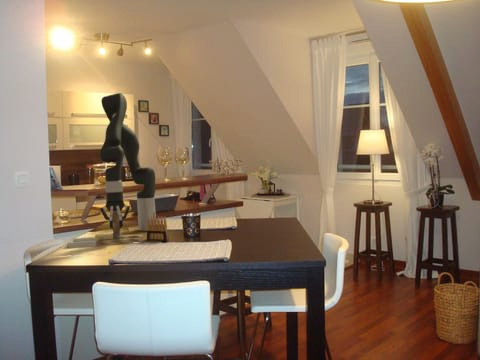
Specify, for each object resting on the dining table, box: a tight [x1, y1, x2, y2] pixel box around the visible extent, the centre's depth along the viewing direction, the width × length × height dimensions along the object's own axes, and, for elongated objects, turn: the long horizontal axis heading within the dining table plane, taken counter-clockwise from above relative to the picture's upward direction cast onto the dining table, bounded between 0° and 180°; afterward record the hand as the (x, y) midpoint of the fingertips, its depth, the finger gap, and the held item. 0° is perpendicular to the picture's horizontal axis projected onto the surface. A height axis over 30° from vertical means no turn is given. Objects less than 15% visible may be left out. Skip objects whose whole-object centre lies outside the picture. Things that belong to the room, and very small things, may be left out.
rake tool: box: [112, 211, 122, 240], centre depth 218 cm, size 3×5×14 cm, turn 9°
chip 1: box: [94, 233, 106, 241], centre depth 217 cm, size 4×4×4 cm
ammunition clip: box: [146, 215, 169, 243], centre depth 221 cm, size 11×2×12 cm, turn 68°
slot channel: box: [95, 234, 144, 247], centre depth 219 cm, size 20×12×3 cm, turn 99°
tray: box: [67, 236, 97, 249], centre depth 216 cm, size 12×10×3 cm
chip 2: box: [104, 232, 113, 240], centre depth 218 cm, size 4×4×4 cm
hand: (116, 228), depth 218 cm, fingers closed on rake tool, 3 cm apart
